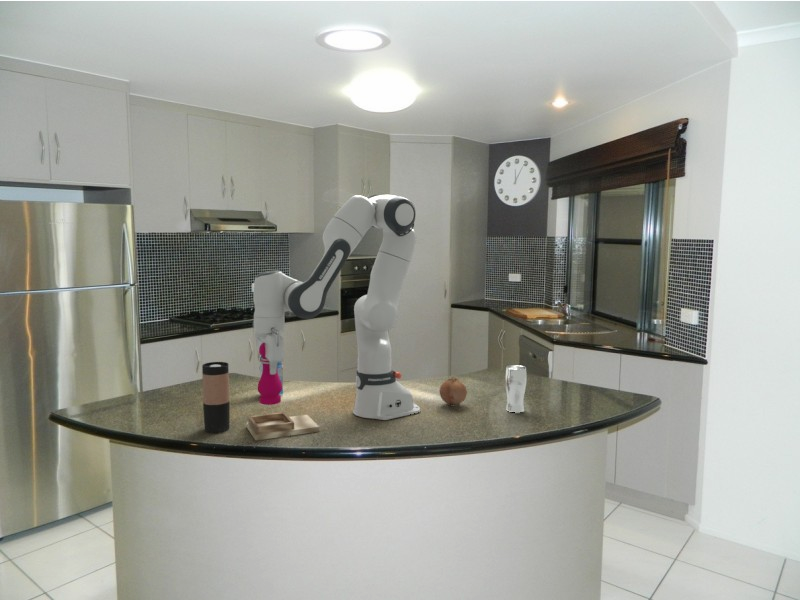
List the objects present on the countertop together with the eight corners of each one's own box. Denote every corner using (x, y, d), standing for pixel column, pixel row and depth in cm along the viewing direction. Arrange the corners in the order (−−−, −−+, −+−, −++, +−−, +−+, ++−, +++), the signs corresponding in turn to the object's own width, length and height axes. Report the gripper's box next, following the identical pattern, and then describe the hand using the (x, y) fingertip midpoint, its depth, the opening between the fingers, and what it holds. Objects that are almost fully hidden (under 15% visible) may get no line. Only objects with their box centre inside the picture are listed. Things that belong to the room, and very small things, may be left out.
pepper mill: (276, 406, 170) (275, 338, 168) (253, 404, 171) (252, 337, 169) (286, 399, 177) (285, 334, 175) (264, 398, 178) (263, 333, 176)
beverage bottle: (272, 399, 208) (271, 344, 206) (255, 396, 212) (253, 342, 210) (288, 394, 216) (287, 340, 213) (271, 391, 220) (270, 338, 218)
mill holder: (306, 419, 186) (306, 408, 186) (319, 431, 175) (319, 420, 174) (246, 427, 178) (246, 416, 178) (255, 440, 167) (255, 428, 166)
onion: (443, 400, 208) (443, 373, 207) (469, 403, 205) (469, 375, 204) (436, 407, 200) (436, 379, 198) (462, 410, 196) (463, 381, 195)
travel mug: (199, 429, 176) (197, 364, 174) (222, 423, 181) (221, 360, 179) (211, 435, 171) (209, 368, 169) (235, 429, 176) (233, 364, 174)
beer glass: (508, 406, 202) (510, 364, 200) (528, 409, 198) (529, 366, 196) (501, 411, 196) (502, 368, 194) (521, 415, 192) (522, 370, 190)
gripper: (289, 330, 164) (289, 378, 165) (271, 320, 182) (272, 363, 183) (266, 331, 161) (267, 380, 162) (251, 321, 179) (252, 365, 181)
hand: (270, 371), depth 173 cm, fingers closed on pepper mill, 5 cm apart
